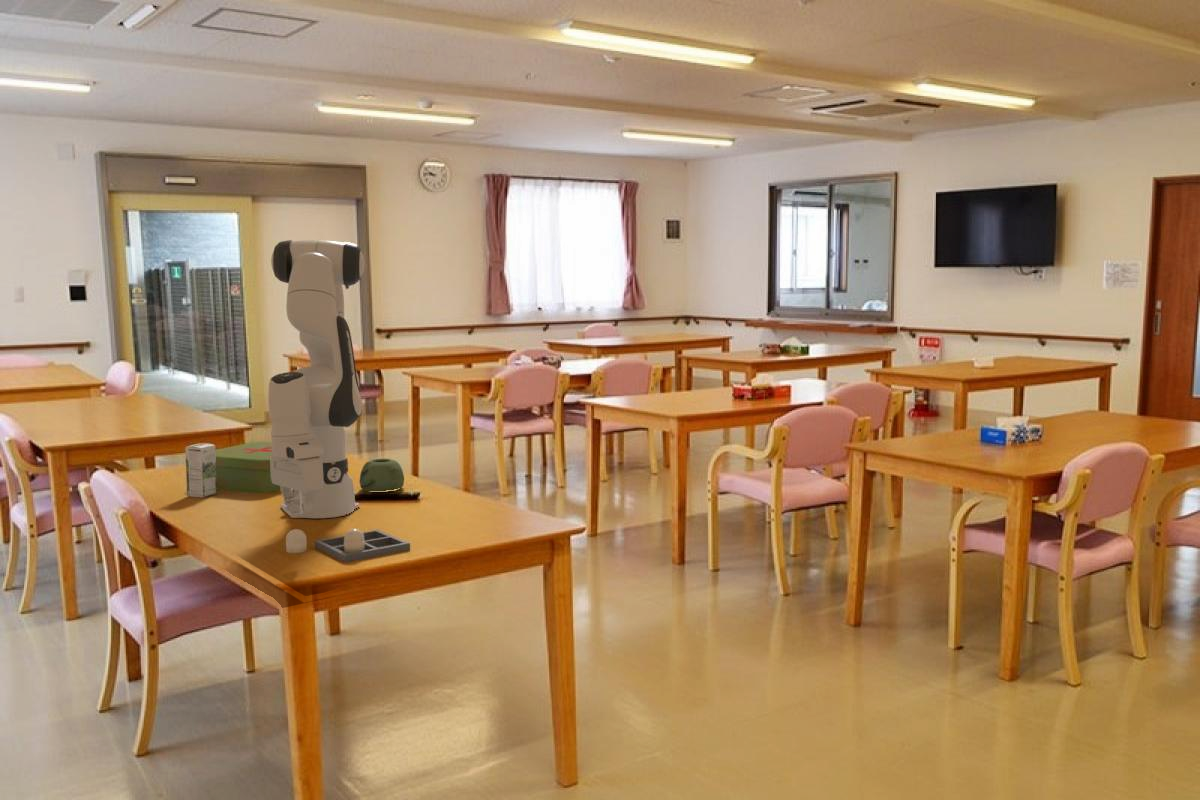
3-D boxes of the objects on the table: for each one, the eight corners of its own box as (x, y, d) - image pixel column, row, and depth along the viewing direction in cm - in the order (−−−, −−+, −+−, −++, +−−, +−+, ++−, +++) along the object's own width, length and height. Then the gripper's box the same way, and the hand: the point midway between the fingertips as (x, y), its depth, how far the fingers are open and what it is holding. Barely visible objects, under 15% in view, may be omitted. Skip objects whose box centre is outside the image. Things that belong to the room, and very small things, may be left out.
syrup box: (201, 492, 288) (198, 442, 287) (218, 494, 287) (215, 443, 285) (186, 496, 283) (184, 445, 281) (203, 498, 281) (201, 447, 279)
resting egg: (340, 554, 222) (340, 528, 221) (359, 550, 224) (358, 525, 224) (349, 558, 218) (349, 532, 218) (368, 554, 221) (367, 529, 220)
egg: (283, 554, 225) (282, 529, 225) (302, 550, 228) (301, 526, 227) (291, 558, 222) (290, 533, 221) (310, 555, 225) (309, 529, 224)
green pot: (350, 489, 293) (349, 460, 292) (389, 483, 302) (388, 454, 300) (380, 498, 281) (380, 467, 280) (419, 491, 290) (418, 461, 289)
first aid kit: (268, 495, 286) (267, 460, 285) (196, 488, 295) (194, 454, 294) (325, 477, 310) (324, 446, 309) (256, 472, 320) (255, 440, 318)
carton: (314, 551, 227) (314, 540, 227) (377, 539, 237) (377, 529, 237) (345, 566, 216) (345, 555, 215) (410, 553, 225) (409, 543, 225)
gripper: (260, 444, 227) (265, 504, 229) (298, 452, 212) (304, 517, 213) (287, 440, 232) (292, 499, 233) (326, 448, 216) (331, 511, 218)
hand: (298, 508), depth 223 cm, fingers open, 8 cm apart
